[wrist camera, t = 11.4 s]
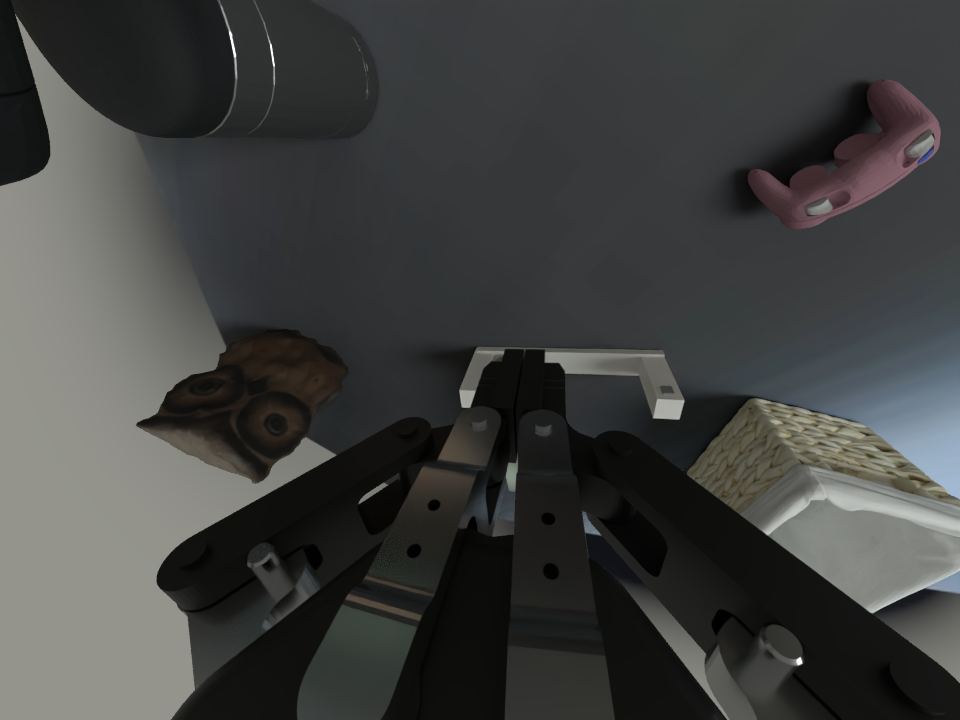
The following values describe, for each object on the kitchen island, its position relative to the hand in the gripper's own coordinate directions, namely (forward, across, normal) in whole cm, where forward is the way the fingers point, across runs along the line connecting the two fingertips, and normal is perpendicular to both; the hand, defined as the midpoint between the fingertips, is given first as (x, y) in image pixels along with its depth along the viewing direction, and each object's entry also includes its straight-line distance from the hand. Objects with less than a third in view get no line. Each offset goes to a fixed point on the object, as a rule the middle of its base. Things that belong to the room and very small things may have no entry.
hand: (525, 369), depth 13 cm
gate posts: (+27, -2, +16) cm, 31 cm away
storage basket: (+27, -27, +32) cm, 50 cm away
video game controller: (+27, -22, -4) cm, 35 cm away
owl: (+27, +36, +18) cm, 49 cm away
